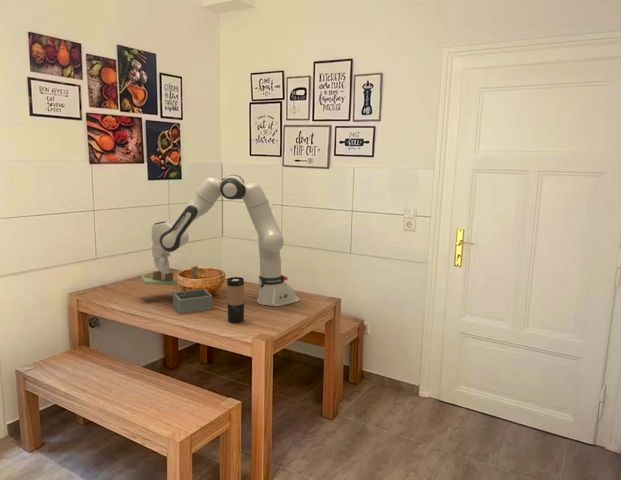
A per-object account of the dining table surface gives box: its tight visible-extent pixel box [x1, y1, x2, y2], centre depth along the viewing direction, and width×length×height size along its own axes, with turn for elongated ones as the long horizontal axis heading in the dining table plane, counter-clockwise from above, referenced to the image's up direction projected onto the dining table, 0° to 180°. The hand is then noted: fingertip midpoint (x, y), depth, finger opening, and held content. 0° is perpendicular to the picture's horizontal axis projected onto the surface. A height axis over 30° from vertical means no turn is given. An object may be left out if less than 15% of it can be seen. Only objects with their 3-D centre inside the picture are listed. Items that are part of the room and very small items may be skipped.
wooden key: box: [190, 265, 200, 280], centre depth 249 cm, size 3×3×18 cm
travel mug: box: [226, 276, 245, 324], centre depth 216 cm, size 8×8×20 cm
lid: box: [140, 271, 178, 287], centre depth 245 cm, size 16×14×6 cm
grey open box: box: [172, 288, 214, 315], centre depth 231 cm, size 16×14×8 cm
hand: (162, 278), depth 244 cm, fingers closed on lid, 2 cm apart
